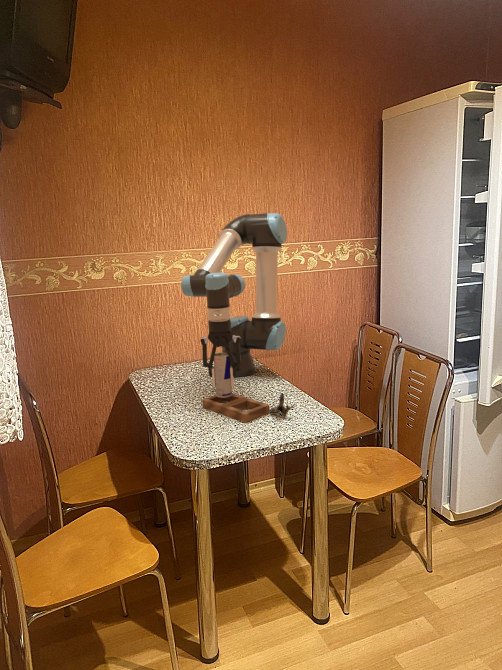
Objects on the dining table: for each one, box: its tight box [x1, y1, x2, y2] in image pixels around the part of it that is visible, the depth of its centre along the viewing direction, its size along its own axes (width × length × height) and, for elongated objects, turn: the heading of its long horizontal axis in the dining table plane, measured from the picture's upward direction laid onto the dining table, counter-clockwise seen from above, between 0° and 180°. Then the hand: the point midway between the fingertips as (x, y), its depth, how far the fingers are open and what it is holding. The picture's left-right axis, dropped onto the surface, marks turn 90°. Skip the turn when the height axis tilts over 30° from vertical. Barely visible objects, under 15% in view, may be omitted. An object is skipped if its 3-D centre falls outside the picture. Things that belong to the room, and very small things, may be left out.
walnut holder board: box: [201, 392, 271, 424], centre depth 189 cm, size 22×11×3 cm, turn 43°
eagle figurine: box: [270, 392, 296, 419], centre depth 183 cm, size 8×7×9 cm
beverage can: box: [213, 351, 233, 398], centre depth 190 cm, size 6×6×15 cm
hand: (223, 385), depth 191 cm, fingers closed on beverage can, 5 cm apart
